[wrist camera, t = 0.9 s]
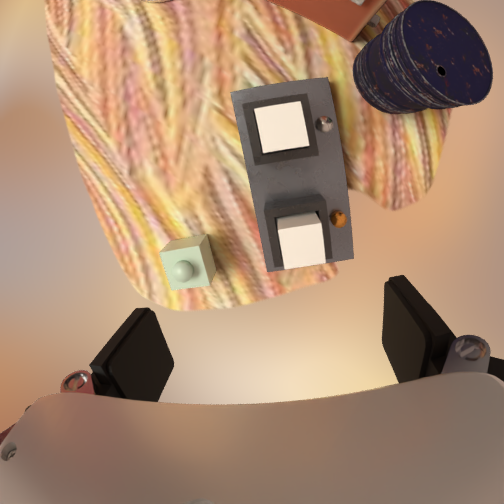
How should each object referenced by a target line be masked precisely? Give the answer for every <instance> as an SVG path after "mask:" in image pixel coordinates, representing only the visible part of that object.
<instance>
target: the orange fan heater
mask: <svg viewBox="0 0 504 504" xmlns="http://www.w3.org/2000/svg"><path fill="white" fill-rule="evenodd" d="M266 1H269V2H271V3H274V4H276V5H279V6H281V7H283V8H286V9H288V10H290V11H293V12H295V13H297V14H299V15H301V16H303V17H305V18H308V19H310V20H312V21H314V22H316V23H318V24H319V25H321V26H323V27H325V28H327V29H329V30H331V31H333V32H334V33H336V34H338V35H340V36H341V37H343V38H345V39H346V40H348V41H350V42H352V41H353V40H354V39H355V38H356V36H357V35H358V34H359V33H360V32H361V30H362V29H363V28H364V27H365V26H366V24H367V25H369V26H371V27H376V26H377V24H378V22H379V21H380V17H379V16H378V15H376V13H377V12H378V10H379V9H380V8H381V7H382V6H383V5H384V4H385V2H386V1H387V0H266Z"/></svg>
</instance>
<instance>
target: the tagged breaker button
mask: <svg viewBox="0 0 504 504" xmlns="http://www.w3.org/2000/svg"><path fill="white" fill-rule="evenodd" d="M277 220H278V234H279V239H280V245H281V251H282V257H283V263H284V269H291V268H298V267H304V266H311V265H317V264H323V263H326V259H325V250H324V241H323V233H322V225H321V222H320V220H319V218H318V216H317V214H316V213H315V211H312V212H305V213H299V214H293V215H287V216H280V217H277Z"/></svg>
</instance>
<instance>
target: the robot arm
mask: <svg viewBox="0 0 504 504" xmlns="http://www.w3.org/2000/svg"><path fill="white" fill-rule="evenodd" d="M142 1H145V2H152V3H155V2H165V1H170V0H142ZM383 314H384V315H383V331H382V344H383V347H384V350H385V352H386V354H387V356H388V359H389V361H390V363H391V366H392V368H393V370H394V373H395V375H396V377H397V380H398V382H399V384H394V385H389V386H385V387H380V388H375V389H371V390H365V391H360V392H354V393H349V394H343V395H336V396H330V397H323V398H314V399H307V400H298V401H288V402H275V403H259V404H232V405H205V404H178V403H163V402H158V400H159V398H160V395H161V393H162V391H163V389H164V387H165V385H166V382H167V380H168V378H169V376H170V374H171V372H172V370H173V367H174V361H173V358H172V355H171V353H170V351H169V348H168V346H167V343H166V341H165V338H164V336H163V333H162V331H161V328H160V325H159V323H158V320H157V318H156V315H155V313H154V311H151V310H150V308H136V309H135V310H134V311H133V312H132V314H131V315H130V316H129V317H128V318H127V319H126V321H125V322H124V323H123V324H122V325H121V326H120V328H119V329H118V330H117V331H116V333H115V334H114V335H113V336H112V337H111V339H110V340H109V341H108V342H107V344H106V345H105V346H104V347H103V349H102V350H101V351H100V352H99V353H98V355H97V356H96V357H95V359H94V360H93V361H92V362H91V364H90V365H89V366H90V367H91V369H92V371H93V373H92V374H90V373H89V372H88V371H85V370H79V371H75V372H73V373H71V374H69V375H68V376H66V377H65V379H64V380H63V381H62V383H61V387H60V392H61V393H56V394H51V395H47V396H44V397H41V398H39V399H38V400H36V401H35V402H34V403H33V404H32V405H30V406H29V407H28V408H27V409H26V410H25V412H24V414H23V415H22V416H21V418H20V419H19V420H18V421H17V423H15V424H14V425H12V426H11V427H9V428H8V429H6V430H5V431H3V432H2V433H0V504H504V360H502V359H498V358H495V357H491V356H490V347H489V345H488V343H487V342H486V341H485V340H484V339H482V338H480V337H478V336H474V335H463V336H460V337H458V338H456V336H455V335H454V334H453V332H452V331H451V330H450V329H449V327H448V326H447V325H446V324H445V322H444V321H443V320H442V319H441V317H440V316H439V315H438V314H437V313H436V311H435V310H434V309H433V308H432V306H431V305H430V304H428V303H427V301H426V300H425V299H424V298H423V297H422V295H421V294H420V293H419V292H418V291H417V290H416V289H415V287H414V286H413V285H412V284H411V283H410V282H409V281H408V279H407V278H406V277H405V276H404V275H400V276H394V277H390V278H389V281H387V282H385V285H384V313H383Z"/></svg>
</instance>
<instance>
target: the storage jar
mask: <svg viewBox="0 0 504 504" xmlns="http://www.w3.org/2000/svg"><path fill="white" fill-rule="evenodd" d="M353 78H354V82H355V84H356V87H357V89H358V91H359V92H360V94H361V95H362V97H363V98H364V99H365V100H366V101H367V102H368V103H369V104H370V105H371V106H373V107H375V108H376V109H378V110H380V111H382V112H385V113H389V114H407V113H414V112H418V111H422V110H425V109H427V108H431V109H445V108H454V107H458V106H463V105H474V104H477V103H479V102H481V101H482V100H484V99H485V98H486V96H487V95H488V93H489V91H490V89H491V85H492V79H493V70H492V63H491V60H490V56H489V53H488V50H487V48H486V46H485V44H484V42H483V40H482V38H481V37H480V35H479V34H478V32H477V31H476V30H475V28H474V27H473V26H472V25H471V24H470V23H469V21H468V20H467V19H465V18H464V17H463V16H462V15H461V14H460V13H458V12H457V11H455V10H454V9H452V8H450V7H449V6H447V5H445V4H442V3H440V2H436V1H431V0H421V1H417V2H414V3H413V4H411V5H410V6H408V7H407V8H406V9H405V10H404V11H403V12H401V13H400V14H398V15H397V16H396V17H395V18H394V19H392V21H391V22H389V23H388V24H387V25H386V26H385V28H384V30H383V32H382V34H380V35H378V36H376V37H375V38H374V39H372V40H371V41H370V42H368V43H367V44H366V45H365V46H364V48H363V49H362V50H361V51H360V53H359V54H358V55H357V57H356V58H355V61H354V64H353Z"/></svg>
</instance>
